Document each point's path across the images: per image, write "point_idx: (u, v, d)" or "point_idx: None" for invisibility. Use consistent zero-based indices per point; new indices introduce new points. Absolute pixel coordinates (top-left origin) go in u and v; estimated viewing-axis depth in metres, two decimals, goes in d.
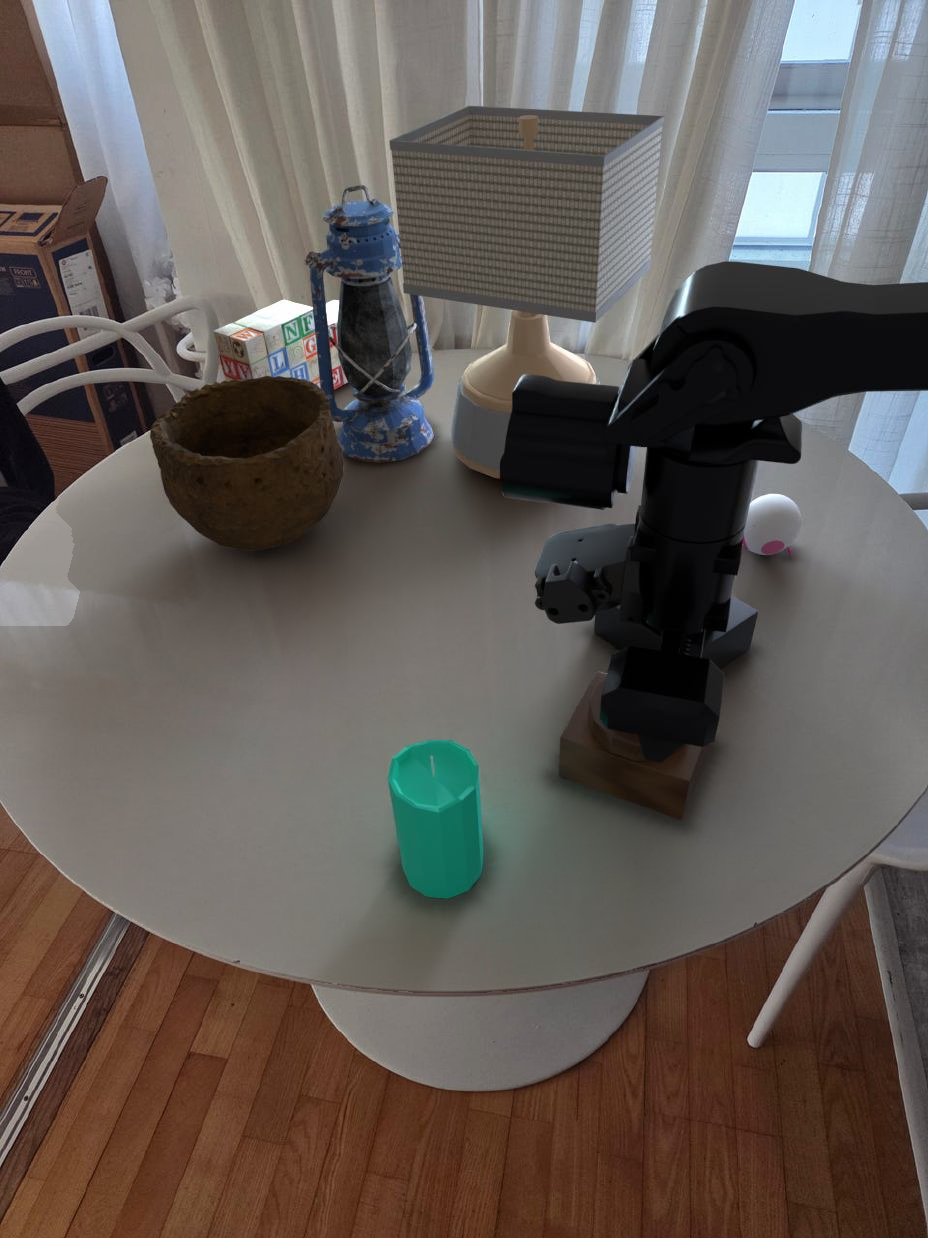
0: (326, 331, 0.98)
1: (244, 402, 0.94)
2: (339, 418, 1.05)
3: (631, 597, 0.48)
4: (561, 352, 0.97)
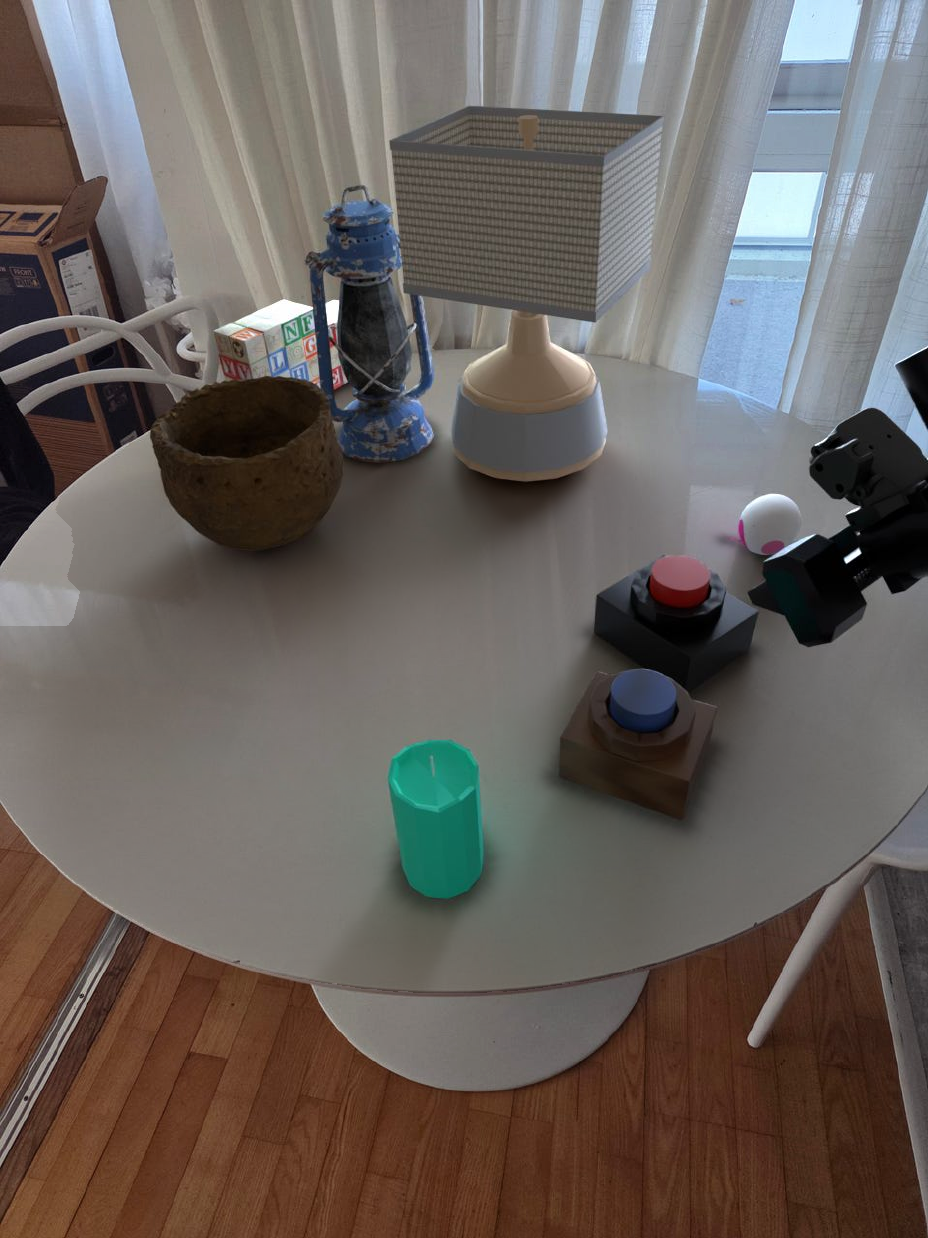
0: (326, 331, 0.98)
1: (244, 402, 0.94)
2: (339, 418, 1.05)
3: (873, 514, 0.53)
4: (561, 352, 0.97)
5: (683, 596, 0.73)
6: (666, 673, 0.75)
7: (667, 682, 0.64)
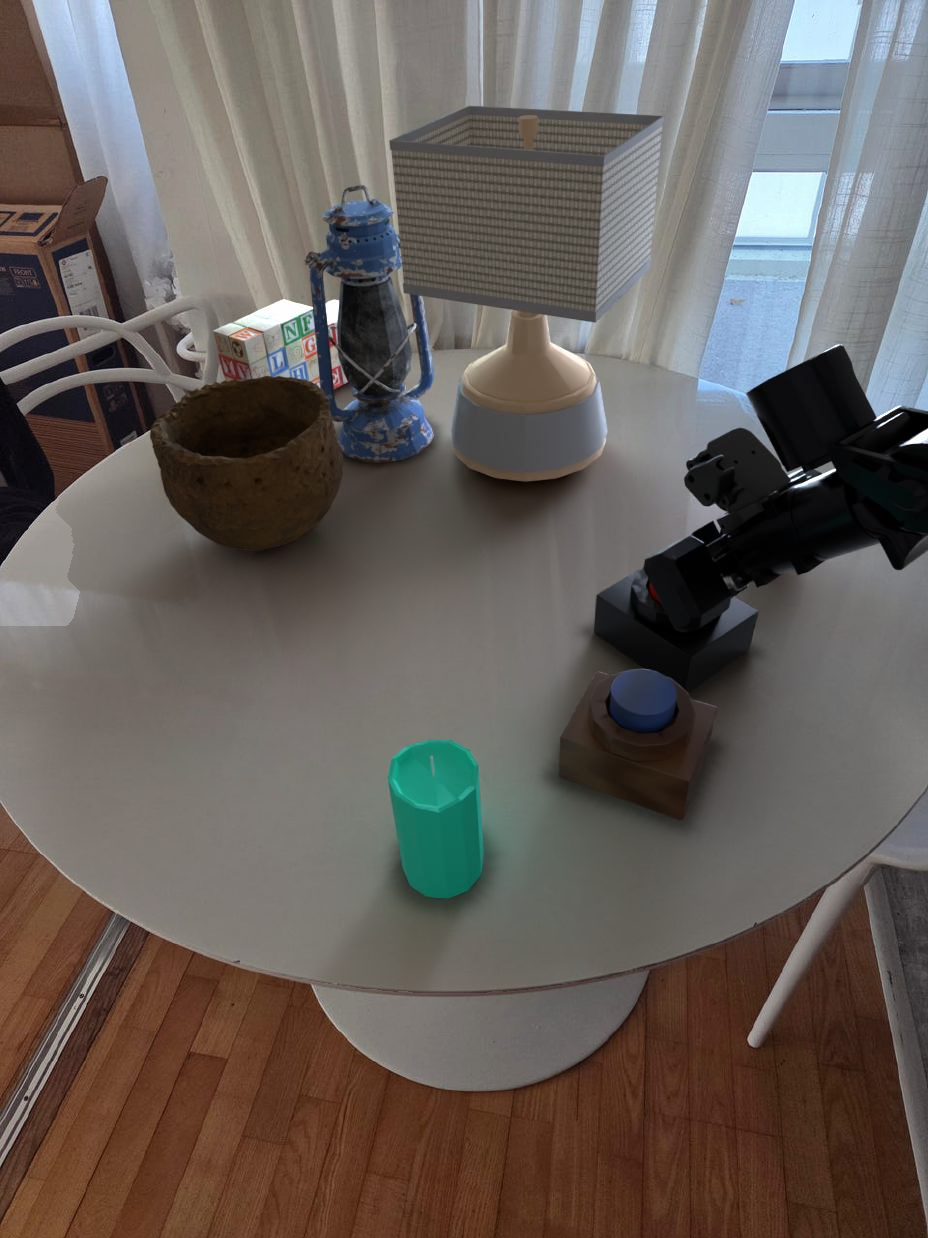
0: (326, 331, 0.98)
1: (244, 402, 0.94)
2: (339, 418, 1.05)
3: (737, 519, 0.62)
4: (561, 352, 0.97)
5: None
6: (666, 673, 0.75)
7: (667, 682, 0.64)
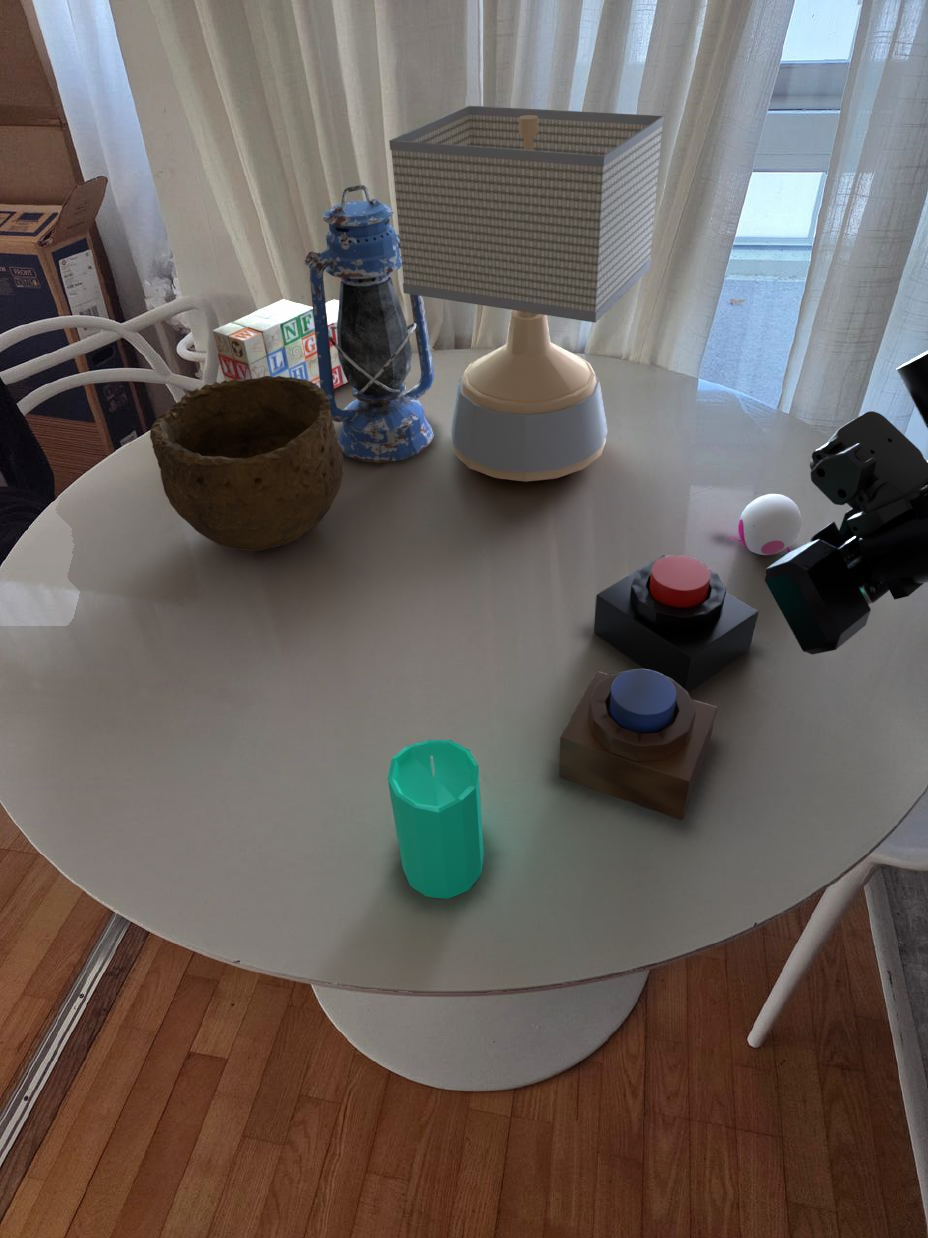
0: (326, 331, 0.98)
1: (244, 402, 0.94)
2: (339, 418, 1.05)
3: (875, 519, 0.53)
4: (561, 352, 0.97)
5: (683, 596, 0.73)
6: (666, 673, 0.75)
7: (667, 682, 0.64)
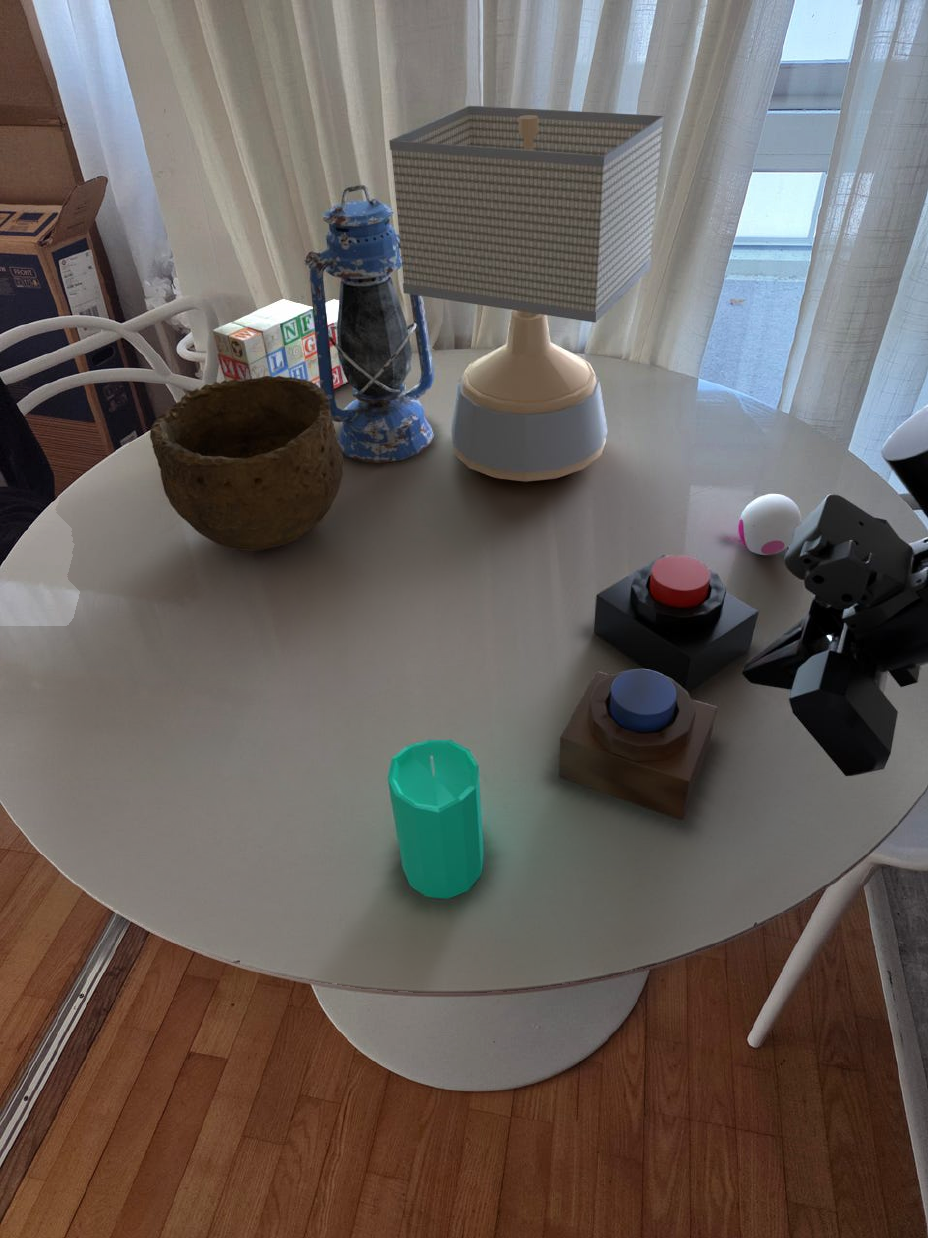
0: (326, 331, 0.98)
1: (244, 402, 0.94)
2: (339, 418, 1.05)
3: (879, 615, 0.48)
4: (561, 352, 0.97)
5: (683, 596, 0.73)
6: (666, 673, 0.75)
7: (667, 682, 0.64)
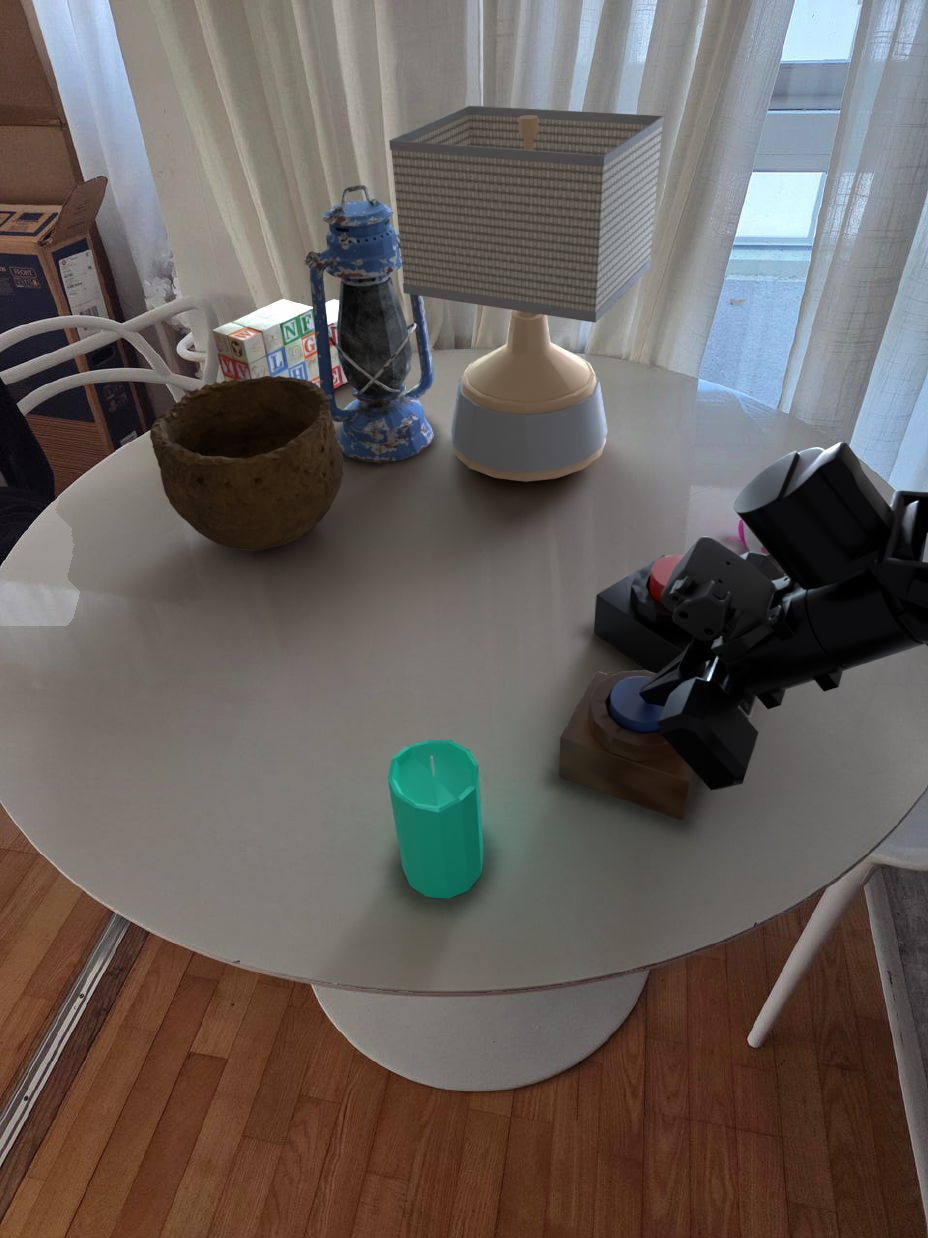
0: (326, 331, 0.98)
1: (244, 402, 0.94)
2: (339, 418, 1.05)
3: (740, 646, 0.53)
4: (561, 352, 0.97)
5: None
6: None
7: None
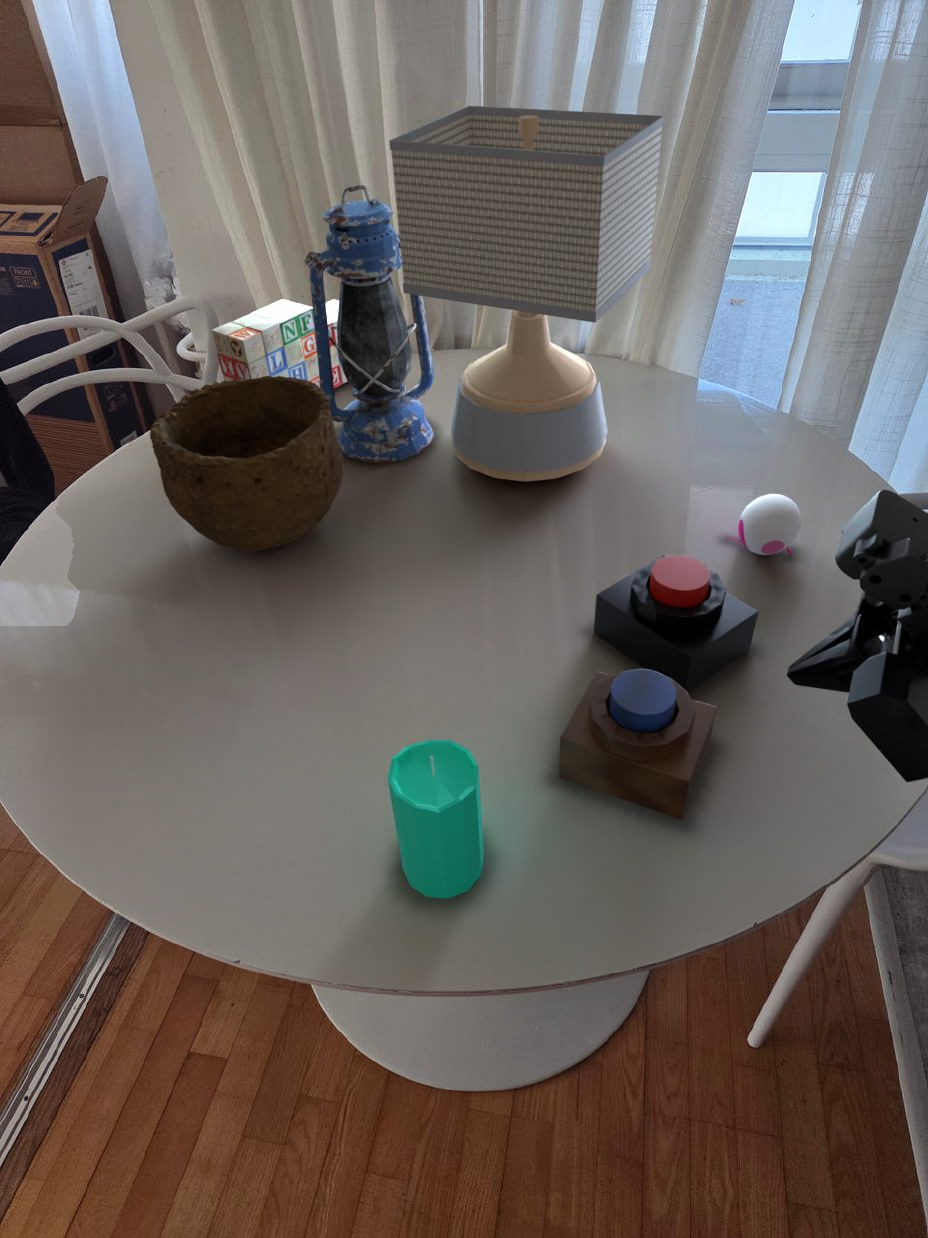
0: (326, 331, 0.98)
1: (244, 402, 0.94)
2: (339, 418, 1.05)
3: None
4: (561, 352, 0.97)
5: (683, 596, 0.73)
6: (666, 673, 0.75)
7: (667, 682, 0.64)
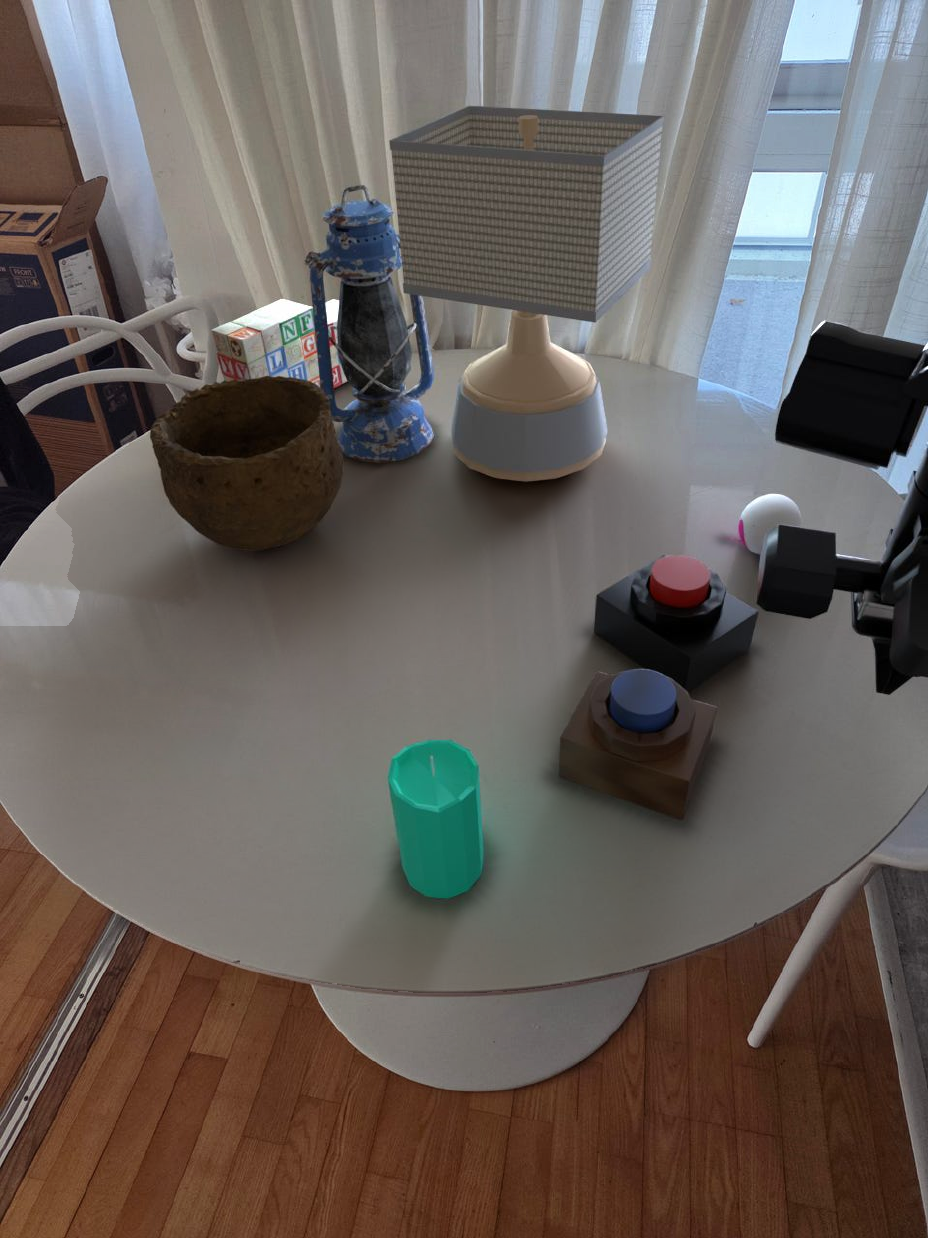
0: (326, 331, 0.98)
1: (244, 402, 0.94)
2: (339, 418, 1.05)
3: None
4: (561, 352, 0.97)
5: (683, 596, 0.73)
6: (666, 673, 0.75)
7: (667, 682, 0.64)
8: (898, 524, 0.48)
